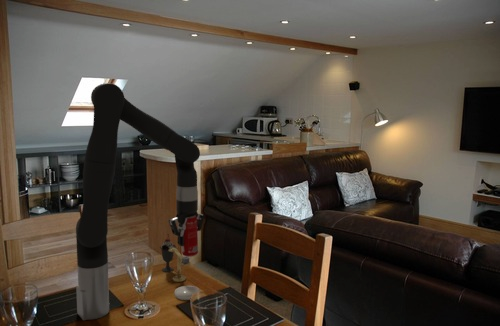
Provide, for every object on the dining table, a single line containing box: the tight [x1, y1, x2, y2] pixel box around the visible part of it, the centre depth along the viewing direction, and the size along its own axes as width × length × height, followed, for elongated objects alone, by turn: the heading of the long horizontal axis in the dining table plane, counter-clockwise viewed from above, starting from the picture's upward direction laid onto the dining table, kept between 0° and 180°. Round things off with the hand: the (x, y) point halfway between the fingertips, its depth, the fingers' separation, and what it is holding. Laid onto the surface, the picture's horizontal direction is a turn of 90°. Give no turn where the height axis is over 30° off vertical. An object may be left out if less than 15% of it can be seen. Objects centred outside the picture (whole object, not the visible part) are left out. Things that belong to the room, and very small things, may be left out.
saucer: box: [174, 285, 200, 301], centre depth 145 cm, size 9×9×1 cm
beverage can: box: [181, 215, 199, 258], centre depth 143 cm, size 6×6×15 cm
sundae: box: [159, 233, 177, 273], centre depth 165 cm, size 7×7×15 cm
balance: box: [169, 247, 191, 283], centre depth 156 cm, size 5×13×12 cm, turn 41°
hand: (187, 244), depth 142 cm, fingers closed on beverage can, 4 cm apart
